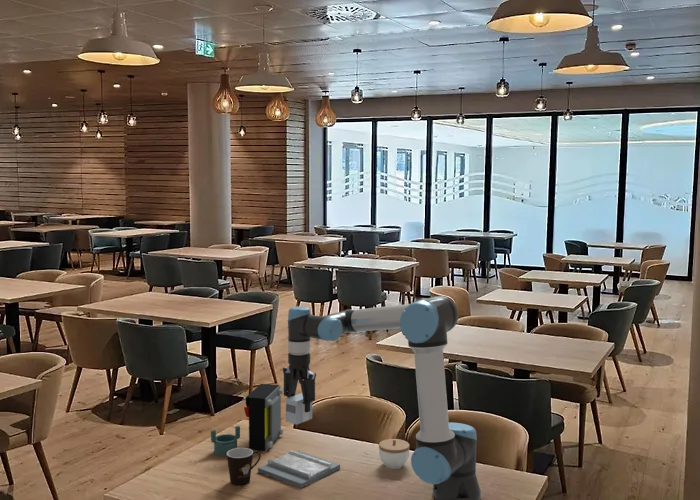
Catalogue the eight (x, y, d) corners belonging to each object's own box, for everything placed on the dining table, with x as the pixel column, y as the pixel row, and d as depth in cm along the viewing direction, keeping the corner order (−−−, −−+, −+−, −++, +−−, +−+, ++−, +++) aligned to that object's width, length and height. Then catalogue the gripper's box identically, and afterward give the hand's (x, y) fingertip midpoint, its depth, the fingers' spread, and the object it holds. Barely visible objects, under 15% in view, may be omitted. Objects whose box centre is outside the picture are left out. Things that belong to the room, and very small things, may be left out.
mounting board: (340, 468, 241) (340, 464, 240) (301, 488, 225) (301, 483, 225) (297, 454, 253) (297, 450, 253) (258, 472, 237) (258, 467, 237)
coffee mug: (228, 488, 224) (228, 459, 223) (225, 478, 232) (225, 449, 231) (264, 484, 227) (263, 455, 226) (260, 474, 236) (260, 445, 235)
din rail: (331, 467, 237) (331, 463, 237) (308, 479, 228) (308, 474, 228) (290, 454, 249) (290, 449, 249) (267, 464, 240) (267, 459, 240)
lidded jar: (388, 457, 251) (389, 432, 250) (414, 464, 245) (415, 438, 244) (373, 467, 242) (373, 441, 241) (399, 474, 236) (399, 447, 235)
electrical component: (270, 451, 255) (270, 398, 253) (244, 449, 257) (243, 397, 255) (284, 434, 272) (284, 385, 270) (259, 432, 274) (259, 383, 272)
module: (312, 418, 239) (312, 395, 238) (295, 424, 232) (295, 401, 232) (301, 415, 242) (301, 393, 241) (285, 421, 236) (285, 398, 235)
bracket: (209, 454, 253) (208, 430, 252) (223, 445, 261) (223, 422, 260) (230, 458, 249) (229, 434, 248) (243, 449, 258) (243, 426, 257)
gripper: (326, 354, 232) (326, 421, 235) (287, 346, 243) (287, 410, 246) (311, 358, 226) (311, 427, 229) (272, 350, 238) (272, 416, 240)
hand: (299, 418), depth 237 cm, fingers closed on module, 5 cm apart
